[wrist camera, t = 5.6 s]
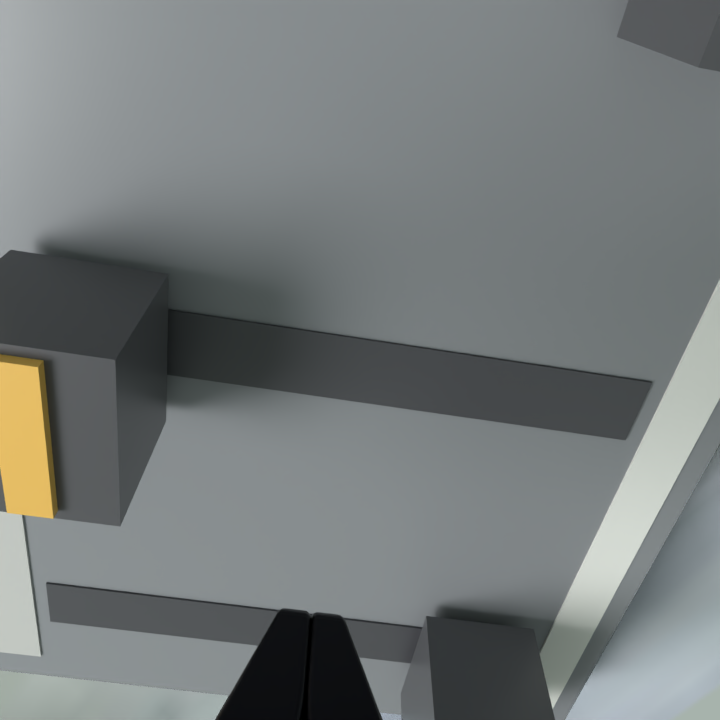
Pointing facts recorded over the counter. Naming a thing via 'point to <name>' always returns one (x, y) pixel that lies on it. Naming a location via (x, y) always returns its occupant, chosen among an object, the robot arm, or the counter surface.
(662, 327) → the panel
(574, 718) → the counter surface
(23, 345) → the handle
